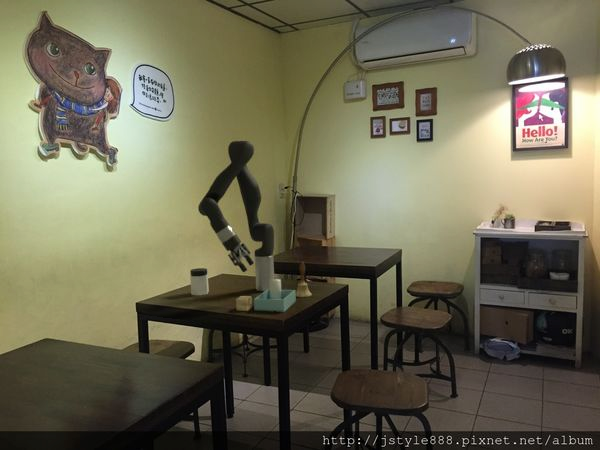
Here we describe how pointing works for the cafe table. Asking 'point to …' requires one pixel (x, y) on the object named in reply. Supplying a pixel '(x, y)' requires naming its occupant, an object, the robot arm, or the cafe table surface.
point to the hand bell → (302, 284)
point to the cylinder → (275, 289)
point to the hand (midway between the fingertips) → (248, 267)
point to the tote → (274, 301)
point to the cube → (244, 303)
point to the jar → (199, 281)
